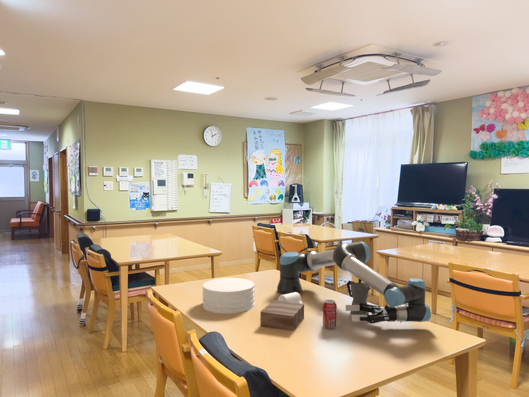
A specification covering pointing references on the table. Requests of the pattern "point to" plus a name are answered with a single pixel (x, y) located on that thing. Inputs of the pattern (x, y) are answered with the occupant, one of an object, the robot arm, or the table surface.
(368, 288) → the coffeepot
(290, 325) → the walnut block
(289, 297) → the mug
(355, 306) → the robot arm
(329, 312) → the beverage can
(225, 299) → the plate stack
